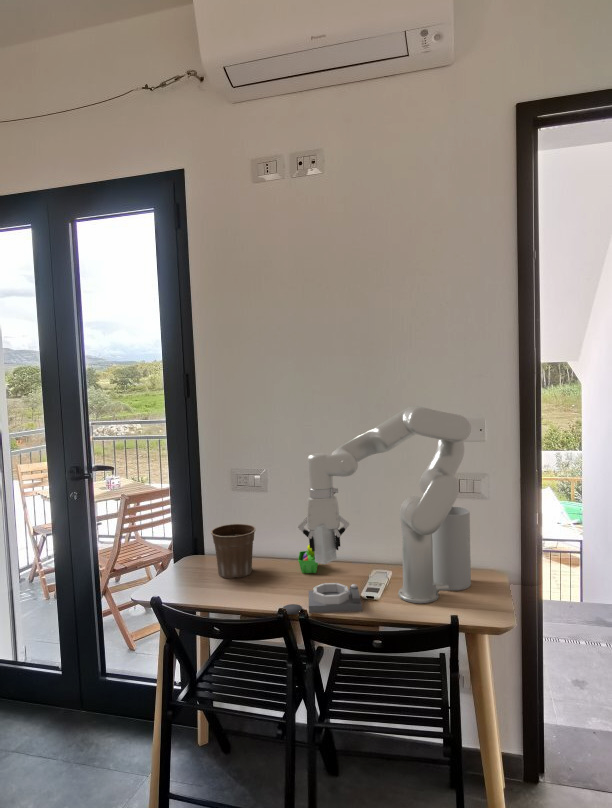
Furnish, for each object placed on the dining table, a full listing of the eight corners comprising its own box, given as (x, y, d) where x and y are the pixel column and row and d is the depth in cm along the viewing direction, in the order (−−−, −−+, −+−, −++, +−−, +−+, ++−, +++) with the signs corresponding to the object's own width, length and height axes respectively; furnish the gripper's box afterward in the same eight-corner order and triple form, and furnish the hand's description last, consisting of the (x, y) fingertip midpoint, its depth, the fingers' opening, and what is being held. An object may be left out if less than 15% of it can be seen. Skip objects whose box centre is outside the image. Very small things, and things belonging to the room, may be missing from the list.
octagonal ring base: (358, 595, 174) (357, 581, 174) (362, 611, 162) (361, 596, 162) (308, 596, 174) (308, 582, 174) (308, 612, 162) (308, 597, 162)
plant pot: (241, 583, 187) (240, 537, 186) (203, 577, 194) (201, 533, 193) (265, 568, 202) (263, 526, 201) (228, 563, 209) (227, 522, 208)
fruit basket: (299, 564, 206) (299, 534, 205) (323, 563, 205) (322, 534, 205) (298, 574, 194) (297, 543, 194) (322, 574, 194) (321, 543, 193)
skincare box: (326, 556, 172) (324, 519, 172) (337, 559, 169) (334, 521, 169) (314, 562, 167) (311, 524, 167) (325, 565, 165) (322, 526, 164)
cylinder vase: (456, 575, 189) (455, 504, 188) (478, 588, 177) (477, 512, 176) (425, 580, 185) (423, 508, 184) (445, 593, 173) (444, 516, 172)
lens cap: (302, 606, 167) (302, 603, 167) (302, 615, 161) (302, 612, 161) (282, 607, 167) (282, 604, 167) (282, 616, 161) (282, 612, 161)
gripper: (348, 489, 171) (352, 544, 172) (294, 492, 171) (297, 547, 172) (350, 493, 164) (353, 551, 164) (293, 497, 164) (297, 555, 165)
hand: (325, 549), depth 168 cm, fingers closed on skincare box, 6 cm apart
